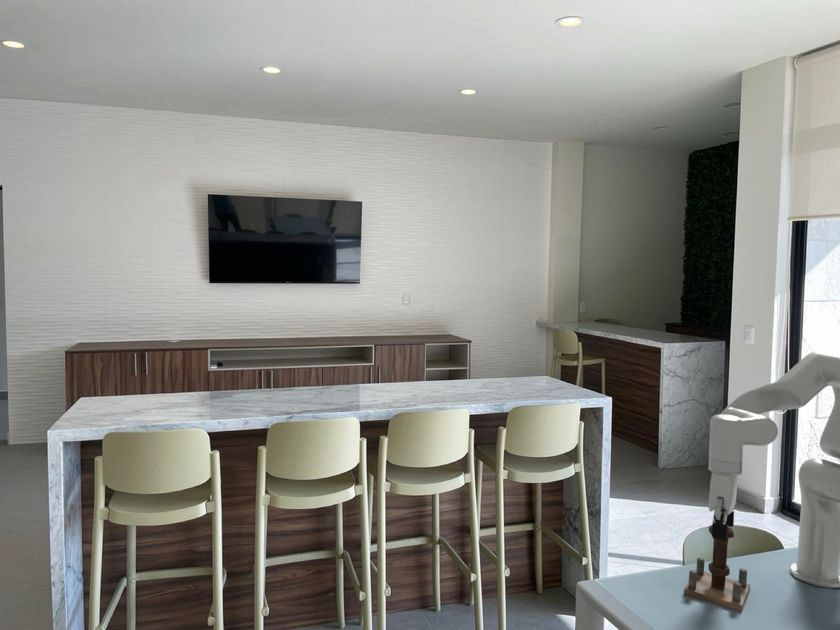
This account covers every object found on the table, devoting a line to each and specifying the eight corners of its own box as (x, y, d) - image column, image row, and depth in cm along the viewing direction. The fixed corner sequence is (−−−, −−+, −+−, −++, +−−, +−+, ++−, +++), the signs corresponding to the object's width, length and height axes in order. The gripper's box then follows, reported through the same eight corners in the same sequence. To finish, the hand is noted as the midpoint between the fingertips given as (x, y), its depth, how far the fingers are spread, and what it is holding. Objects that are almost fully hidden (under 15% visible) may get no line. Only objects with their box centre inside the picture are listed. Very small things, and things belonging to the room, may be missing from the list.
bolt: (732, 593, 156) (735, 533, 155) (710, 590, 157) (713, 531, 156) (725, 582, 162) (728, 524, 161) (704, 580, 163) (707, 522, 162)
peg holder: (695, 575, 169) (696, 554, 168) (749, 590, 161) (751, 569, 161) (683, 594, 158) (685, 573, 158) (741, 611, 151) (743, 589, 150)
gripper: (715, 454, 167) (713, 517, 168) (701, 471, 153) (699, 540, 154) (747, 459, 162) (745, 524, 164) (736, 477, 148) (733, 548, 150)
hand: (723, 531), depth 159 cm, fingers open, 9 cm apart
